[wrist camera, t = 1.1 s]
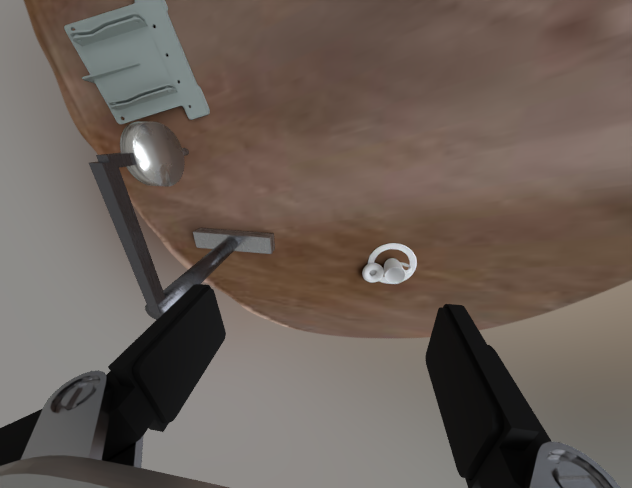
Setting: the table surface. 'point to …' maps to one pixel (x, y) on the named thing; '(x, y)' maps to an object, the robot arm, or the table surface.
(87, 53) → the metal bracket
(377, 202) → the table surface
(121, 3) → the table surface
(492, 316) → the table surface
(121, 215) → the metal desk lamp
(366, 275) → the white ring with cylinder
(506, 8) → the table surface
